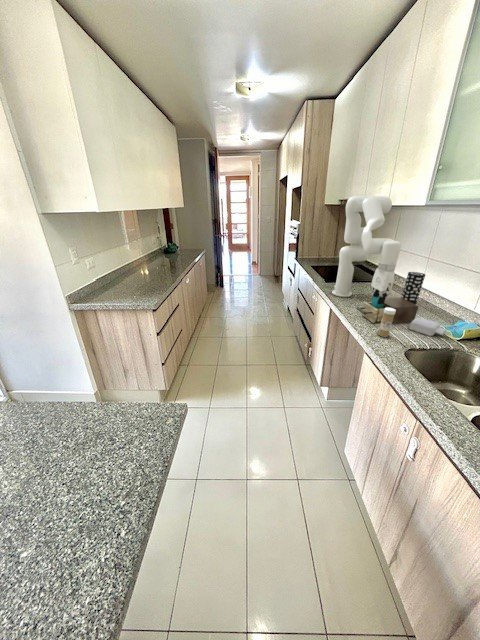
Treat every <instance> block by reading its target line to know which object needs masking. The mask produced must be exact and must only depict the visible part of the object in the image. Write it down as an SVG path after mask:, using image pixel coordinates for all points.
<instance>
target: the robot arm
mask: <svg viewBox="0 0 480 640" xmlns="http://www.w3.org/2000/svg"><path fill="white" fill-rule="evenodd" d="M392 206H393V202H392V199H391V198H390V197H389V196H385V195H384V196H383V195H353V196H351V197H349V198H348V199H347V202H346V204H345V217H346V218H345V228H344V235H343V237H344V238H343V240H344V243H346V244H348V245H345V246H343V247H341V248H340V250H339V253H338V268H337V275H336V279H335V285H334V286H333V287H334V289H333V290H331V294H332V295H333V296H335V297H341V298H350V297H352V295H353V293H352V292H351V289H352V288H351V287H352V283H353V278H354V272H355V266H354V264H353V262H365V261H367V260H368V258H369V257H370V256H369V255H380V256H379V261H378V264H377V268H376V269H375V271H374V272H373V273H374V274H373V277H372V279H371V283H370V286H371V288H372V293H373V294H372V298H371V300H372V299H373V297H378V296H379V300H378V304H384V302H385V298H388V296H389V295H392V289H393V286H394V282H395V281H394V280H395V273H396V271H395V270H396V268H397V267H396V266H397V263H398V259H399V255H400V253H401V248H402V243H401V242H400V241H398V240H395V239H392V238H389V237H387V238H386V237H385V238H383V237H373V233H372V231H374V230H377V229H378V228H380V227H382V226H383V225H384V224H385V221H386V218H385V215H384V214H388V213H389V212H390V211H391V209H392ZM360 213H363V216H364V220H365V224H366V225H365V226H364V227H362V217H361V215H360ZM349 244H351V245H349ZM353 244H356V245H353Z"/></svg>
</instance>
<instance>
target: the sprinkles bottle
mask: <svg viewBox="0 0 480 640" xmlns="http://www.w3.org/2000/svg"><path fill="white" fill-rule="evenodd" d="M395 312H396V310H395V309H393V308H388V307H387V308H385V309H384V314H383V318H382V321H380V325H379V330H378V333H377V335H378V336H380V337H382V338H388V337H389V334H390V331H391V329H392V325H393V324H392V322H393V318H394V314H395Z"/></svg>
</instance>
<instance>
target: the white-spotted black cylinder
mask: <svg viewBox="0 0 480 640" xmlns="http://www.w3.org/2000/svg"><path fill="white" fill-rule="evenodd" d="M425 278H426V274H425V273H423V272H419V271H418V272H417V271H408V272H407V275H406V280H405V282H404V286H403V289H402V293H401V296H400V298H403V299H405V300H407V301H409V302H411V303H413V304H415V305H417V304H418V303H417V302H418V300H419V297H420V294H421V290H422V287H423V284H424V281H425Z"/></svg>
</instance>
